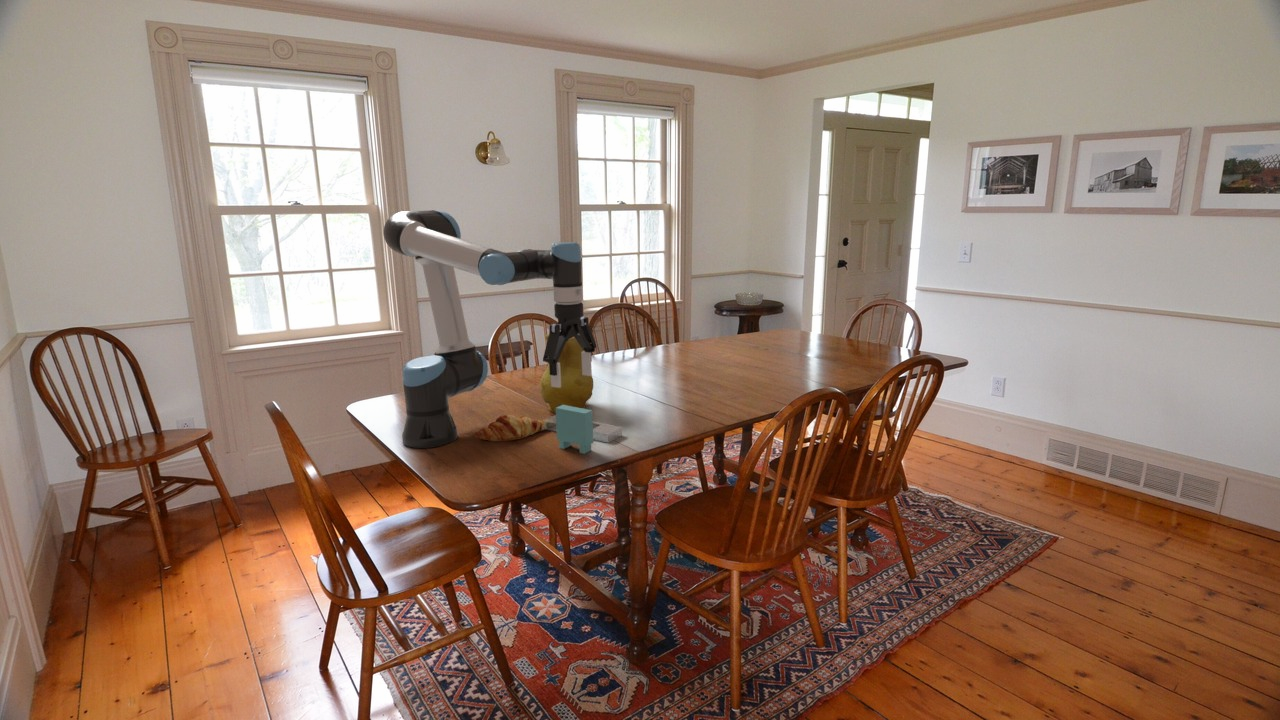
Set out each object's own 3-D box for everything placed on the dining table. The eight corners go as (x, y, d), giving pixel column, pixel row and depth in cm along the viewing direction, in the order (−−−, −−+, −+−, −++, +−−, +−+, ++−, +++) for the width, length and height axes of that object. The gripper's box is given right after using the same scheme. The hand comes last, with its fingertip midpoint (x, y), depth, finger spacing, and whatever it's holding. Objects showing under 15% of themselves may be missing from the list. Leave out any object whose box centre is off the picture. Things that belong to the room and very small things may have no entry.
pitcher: (529, 411, 210) (529, 335, 205) (562, 399, 226) (563, 328, 221) (573, 420, 202) (575, 341, 197) (604, 406, 219) (606, 333, 214)
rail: (608, 442, 182) (607, 434, 182) (542, 428, 195) (542, 420, 194) (622, 435, 188) (621, 427, 187) (557, 421, 201) (557, 414, 200)
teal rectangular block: (586, 454, 174) (585, 413, 171) (557, 447, 179) (555, 407, 177) (593, 450, 177) (592, 410, 174) (564, 444, 182) (563, 404, 179)
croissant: (543, 438, 197) (538, 412, 199) (554, 431, 189) (548, 405, 190) (474, 450, 187) (469, 423, 188) (482, 444, 178) (477, 415, 180)
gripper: (549, 309, 157) (553, 394, 162) (607, 297, 178) (609, 372, 183) (525, 308, 161) (530, 390, 166) (585, 295, 182) (588, 369, 187)
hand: (572, 381), depth 174 cm, fingers open, 13 cm apart
